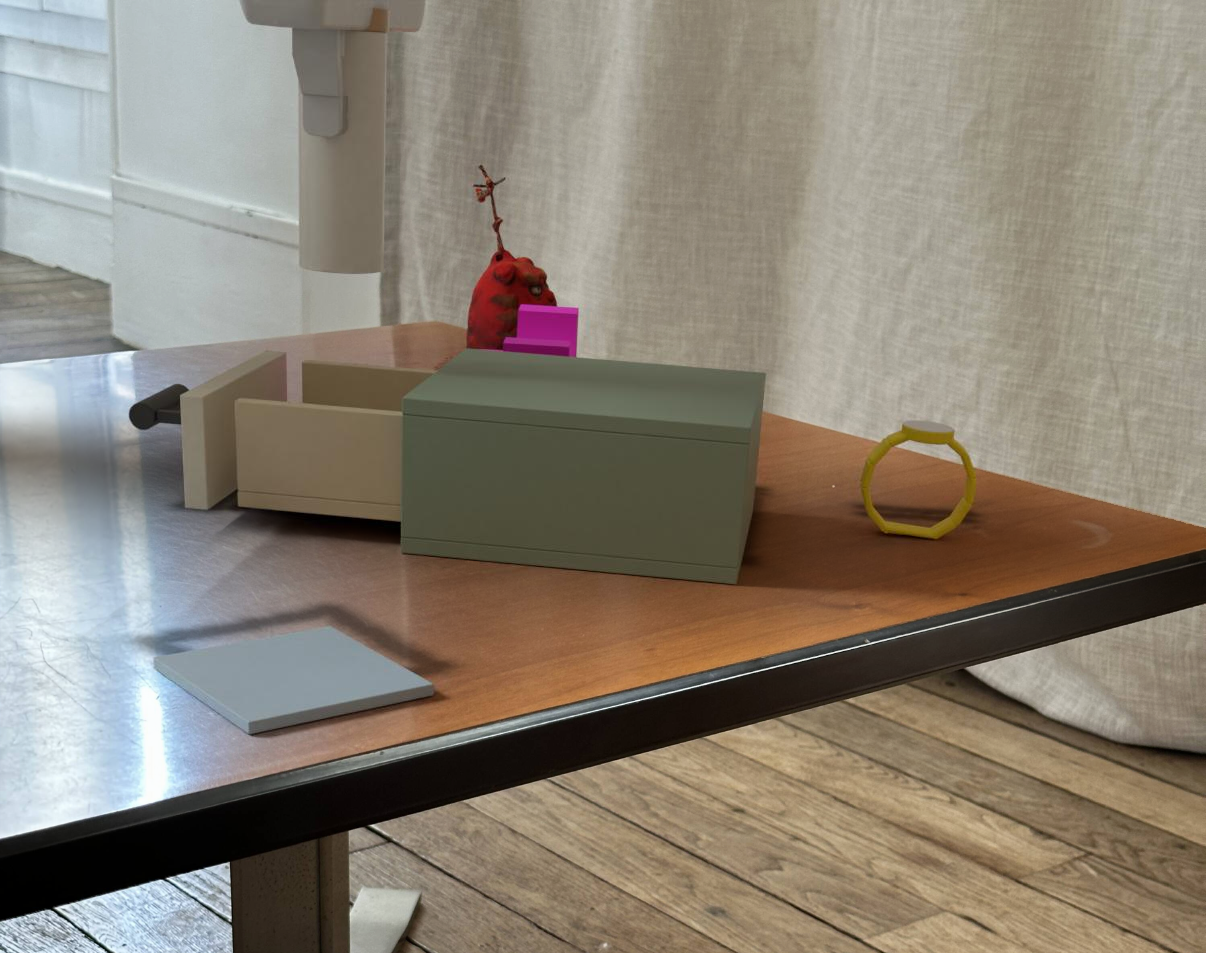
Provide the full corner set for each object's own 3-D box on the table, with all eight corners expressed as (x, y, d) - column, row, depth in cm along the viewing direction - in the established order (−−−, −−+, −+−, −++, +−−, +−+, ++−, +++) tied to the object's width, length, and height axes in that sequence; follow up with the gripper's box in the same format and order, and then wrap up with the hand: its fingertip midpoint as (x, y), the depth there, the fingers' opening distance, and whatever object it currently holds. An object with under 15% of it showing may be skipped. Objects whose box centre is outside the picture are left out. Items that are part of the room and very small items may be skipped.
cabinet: (400, 552, 84) (401, 397, 81) (462, 483, 97) (465, 347, 94) (736, 584, 82) (751, 427, 79) (753, 510, 96) (766, 372, 92)
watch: (857, 537, 91) (871, 426, 89) (853, 524, 94) (866, 416, 92) (969, 545, 91) (986, 434, 89) (962, 531, 94) (978, 423, 91)
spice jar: (285, 268, 84) (283, 1, 79) (311, 258, 88) (311, 3, 83) (372, 276, 84) (376, 8, 79) (394, 266, 88) (399, 9, 83)
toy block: (479, 417, 114) (482, 301, 111) (573, 423, 114) (578, 307, 111) (456, 470, 100) (459, 340, 97) (563, 477, 100) (569, 346, 97)
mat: (248, 735, 62) (248, 722, 62) (153, 668, 68) (152, 656, 67) (434, 695, 67) (434, 683, 66) (330, 636, 72) (330, 625, 72)
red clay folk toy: (545, 399, 120) (554, 174, 114) (449, 390, 122) (453, 166, 115) (570, 381, 127) (580, 167, 121) (479, 372, 128) (485, 160, 122)
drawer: (102, 504, 86) (94, 387, 83) (195, 447, 98) (191, 343, 95) (489, 539, 84) (492, 421, 81) (535, 477, 96) (540, 372, 94)
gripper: (338, -171, 87) (336, 119, 93) (198, -229, 69) (207, 137, 75) (459, -163, 87) (450, 128, 93) (351, -219, 68) (348, 149, 74)
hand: (341, 133), depth 83 cm, fingers closed on spice jar, 4 cm apart
